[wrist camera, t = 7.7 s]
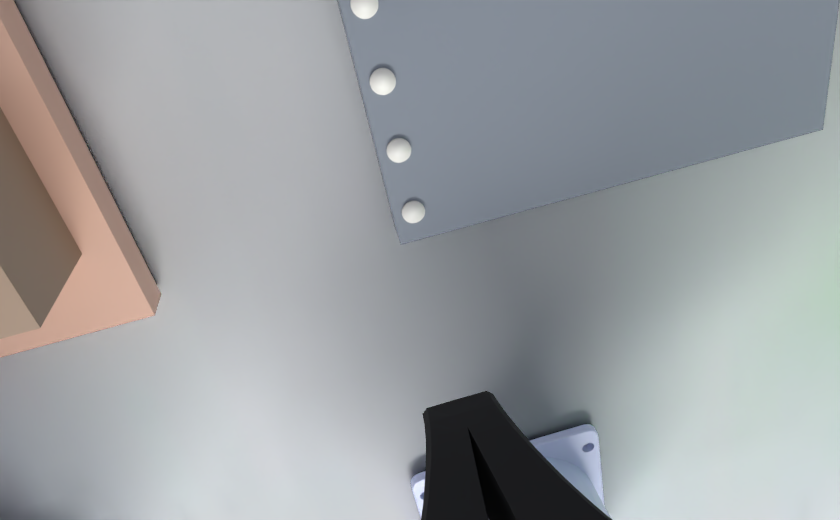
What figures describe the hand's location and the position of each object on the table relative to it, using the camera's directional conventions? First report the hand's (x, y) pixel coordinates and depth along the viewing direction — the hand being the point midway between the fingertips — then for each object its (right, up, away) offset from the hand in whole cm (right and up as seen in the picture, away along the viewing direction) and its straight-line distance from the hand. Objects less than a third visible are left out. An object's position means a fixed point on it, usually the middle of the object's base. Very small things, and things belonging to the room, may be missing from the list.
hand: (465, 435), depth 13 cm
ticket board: (+4, +11, +6) cm, 13 cm away
